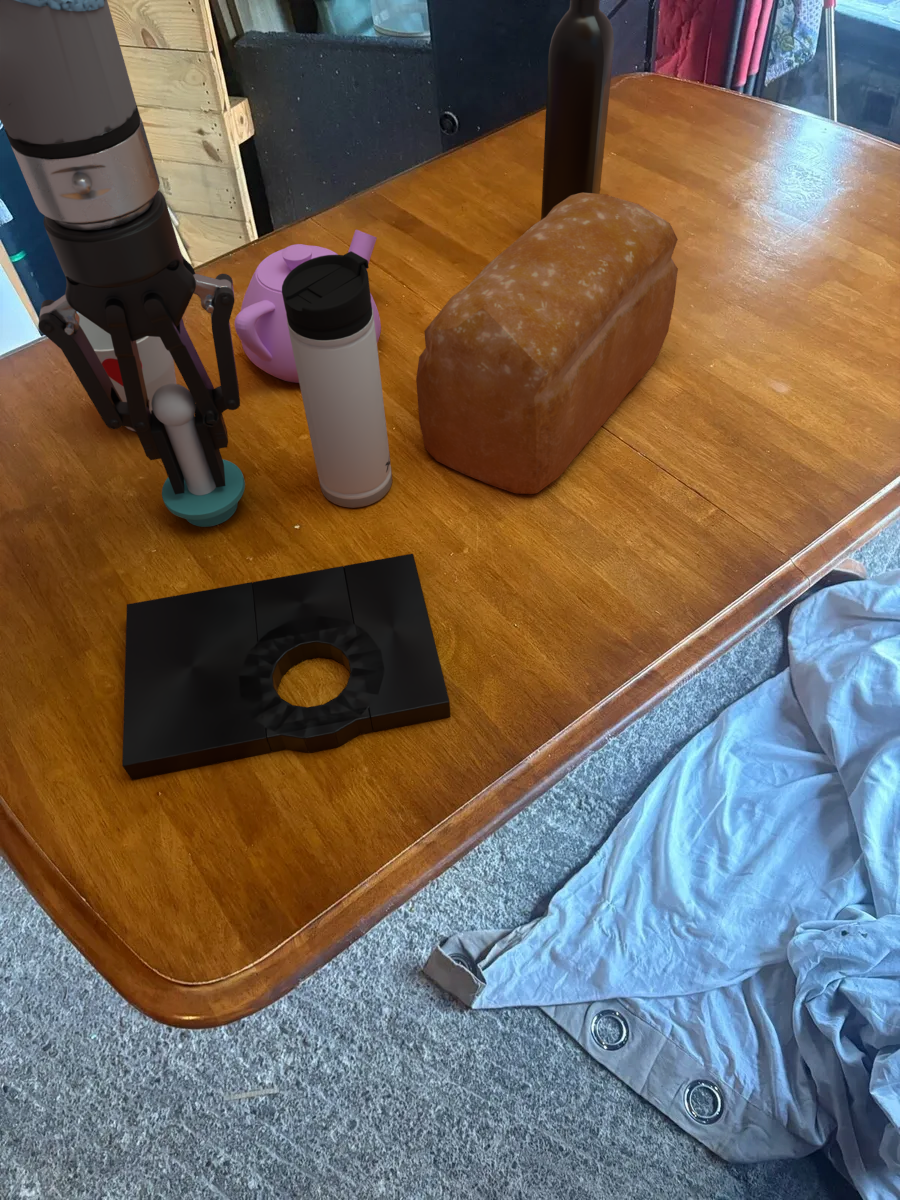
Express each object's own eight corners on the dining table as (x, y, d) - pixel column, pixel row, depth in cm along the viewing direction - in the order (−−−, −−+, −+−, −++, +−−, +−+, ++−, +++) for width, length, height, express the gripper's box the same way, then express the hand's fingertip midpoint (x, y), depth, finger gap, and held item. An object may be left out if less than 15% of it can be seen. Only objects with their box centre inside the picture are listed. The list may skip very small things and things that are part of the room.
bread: (407, 453, 80) (392, 296, 67) (551, 308, 93) (560, 156, 81) (542, 511, 74) (552, 353, 62) (674, 349, 88) (703, 192, 76)
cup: (89, 434, 83) (47, 343, 75) (133, 381, 88) (98, 290, 80) (166, 449, 81) (132, 357, 73) (207, 395, 86) (179, 303, 78)
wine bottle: (537, 248, 100) (551, -76, 77) (549, 222, 104) (567, -95, 80) (586, 255, 99) (616, -72, 76) (597, 229, 102) (629, -92, 79)
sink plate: (131, 788, 60) (121, 774, 58) (134, 620, 69) (126, 604, 67) (452, 724, 62) (451, 709, 60) (414, 569, 71) (413, 553, 69)
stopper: (171, 543, 74) (120, 424, 64) (170, 487, 78) (122, 368, 68) (253, 528, 74) (215, 408, 64) (247, 473, 79) (211, 354, 69)
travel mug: (410, 480, 77) (390, 270, 62) (352, 520, 75) (316, 310, 59) (363, 447, 80) (333, 238, 65) (306, 484, 77) (260, 275, 62)
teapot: (430, 314, 93) (424, 216, 85) (311, 422, 83) (291, 323, 74) (326, 278, 98) (311, 182, 90) (201, 376, 88) (171, 277, 79)
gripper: (-38, 251, 52) (101, 527, 70) (231, 213, 54) (298, 493, 72) (-22, 190, 57) (104, 464, 75) (225, 157, 58) (290, 434, 77)
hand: (199, 478), depth 73 cm, fingers closed on stopper, 3 cm apart
